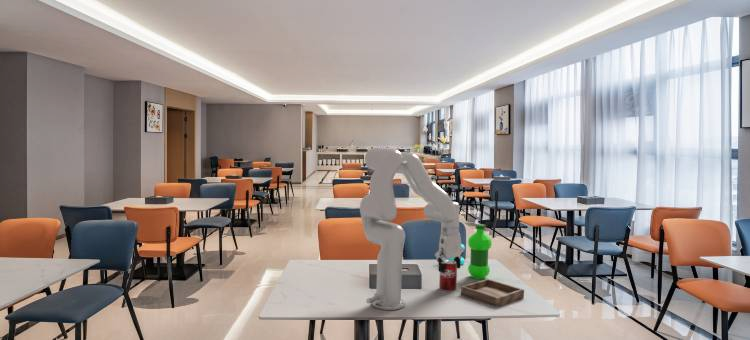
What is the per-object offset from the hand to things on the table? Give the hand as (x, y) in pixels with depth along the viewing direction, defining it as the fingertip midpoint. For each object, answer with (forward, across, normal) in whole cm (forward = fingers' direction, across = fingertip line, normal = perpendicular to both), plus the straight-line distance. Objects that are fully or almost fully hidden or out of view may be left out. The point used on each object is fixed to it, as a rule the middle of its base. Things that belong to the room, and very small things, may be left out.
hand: (449, 269), depth 196 cm
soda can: (+8, -1, 0) cm, 9 cm away
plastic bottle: (+9, +24, +3) cm, 26 cm away
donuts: (+10, +35, +27) cm, 45 cm away
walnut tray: (+8, +7, -17) cm, 20 cm away
